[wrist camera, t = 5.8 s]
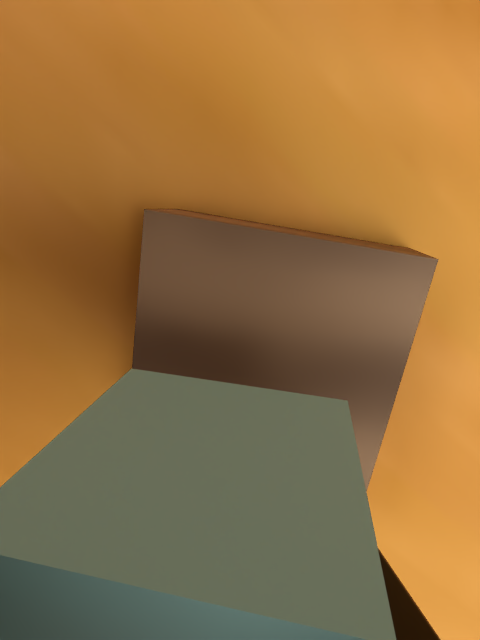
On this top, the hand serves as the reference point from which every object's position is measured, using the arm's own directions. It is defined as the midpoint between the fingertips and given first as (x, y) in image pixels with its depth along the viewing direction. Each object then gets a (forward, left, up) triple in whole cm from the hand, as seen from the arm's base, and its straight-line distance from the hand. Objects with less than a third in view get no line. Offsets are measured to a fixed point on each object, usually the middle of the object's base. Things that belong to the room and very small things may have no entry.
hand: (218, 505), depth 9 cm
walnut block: (0, 0, -10) cm, 11 cm away
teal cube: (0, 0, -1) cm, 1 cm away
